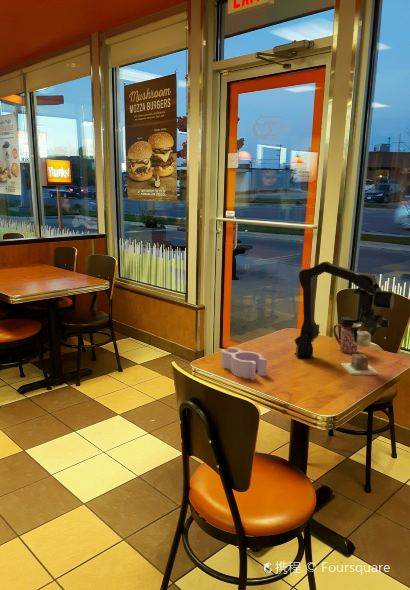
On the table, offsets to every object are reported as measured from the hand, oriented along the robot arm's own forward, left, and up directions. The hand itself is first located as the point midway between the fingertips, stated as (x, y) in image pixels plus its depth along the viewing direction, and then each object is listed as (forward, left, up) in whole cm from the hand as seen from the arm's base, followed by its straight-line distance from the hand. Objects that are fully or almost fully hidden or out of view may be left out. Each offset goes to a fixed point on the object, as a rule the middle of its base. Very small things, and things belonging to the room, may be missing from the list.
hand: (361, 342), depth 184 cm
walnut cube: (0, 0, -11) cm, 11 cm away
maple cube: (0, 0, -1) cm, 1 cm away
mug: (+3, +24, -12) cm, 27 cm away
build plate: (0, 0, -12) cm, 12 cm away
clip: (-49, 0, -12) cm, 51 cm away
